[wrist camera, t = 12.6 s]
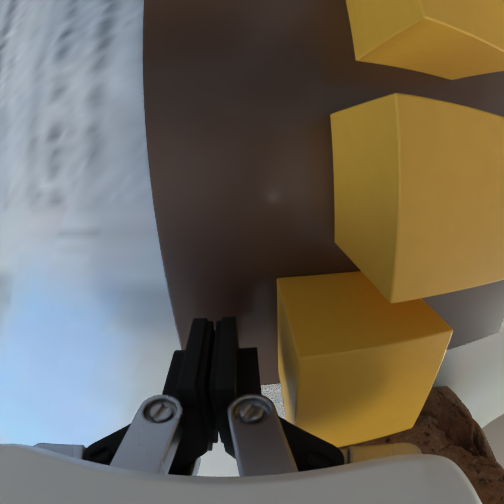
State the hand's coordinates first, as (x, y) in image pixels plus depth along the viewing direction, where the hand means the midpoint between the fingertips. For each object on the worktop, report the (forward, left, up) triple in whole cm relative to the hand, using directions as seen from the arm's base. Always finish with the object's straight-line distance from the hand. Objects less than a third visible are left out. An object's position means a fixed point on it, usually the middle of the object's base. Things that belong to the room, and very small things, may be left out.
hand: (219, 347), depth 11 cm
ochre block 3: (0, +5, -1) cm, 5 cm away
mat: (-8, +8, -2) cm, 12 cm away
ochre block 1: (-13, +9, -1) cm, 16 cm away
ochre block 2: (-6, +7, -1) cm, 10 cm away
